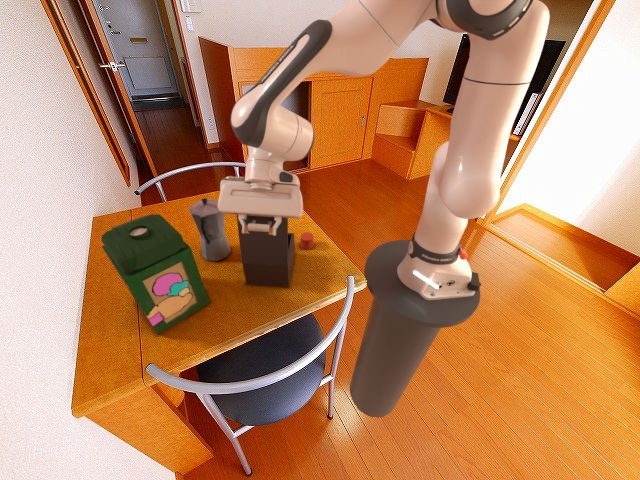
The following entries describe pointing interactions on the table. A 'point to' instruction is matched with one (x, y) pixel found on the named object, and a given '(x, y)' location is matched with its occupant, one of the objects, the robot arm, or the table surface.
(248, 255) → the lid
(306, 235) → the coffee capsule
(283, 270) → the dark carry box
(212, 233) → the moka pot
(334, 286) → the table surface
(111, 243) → the container
